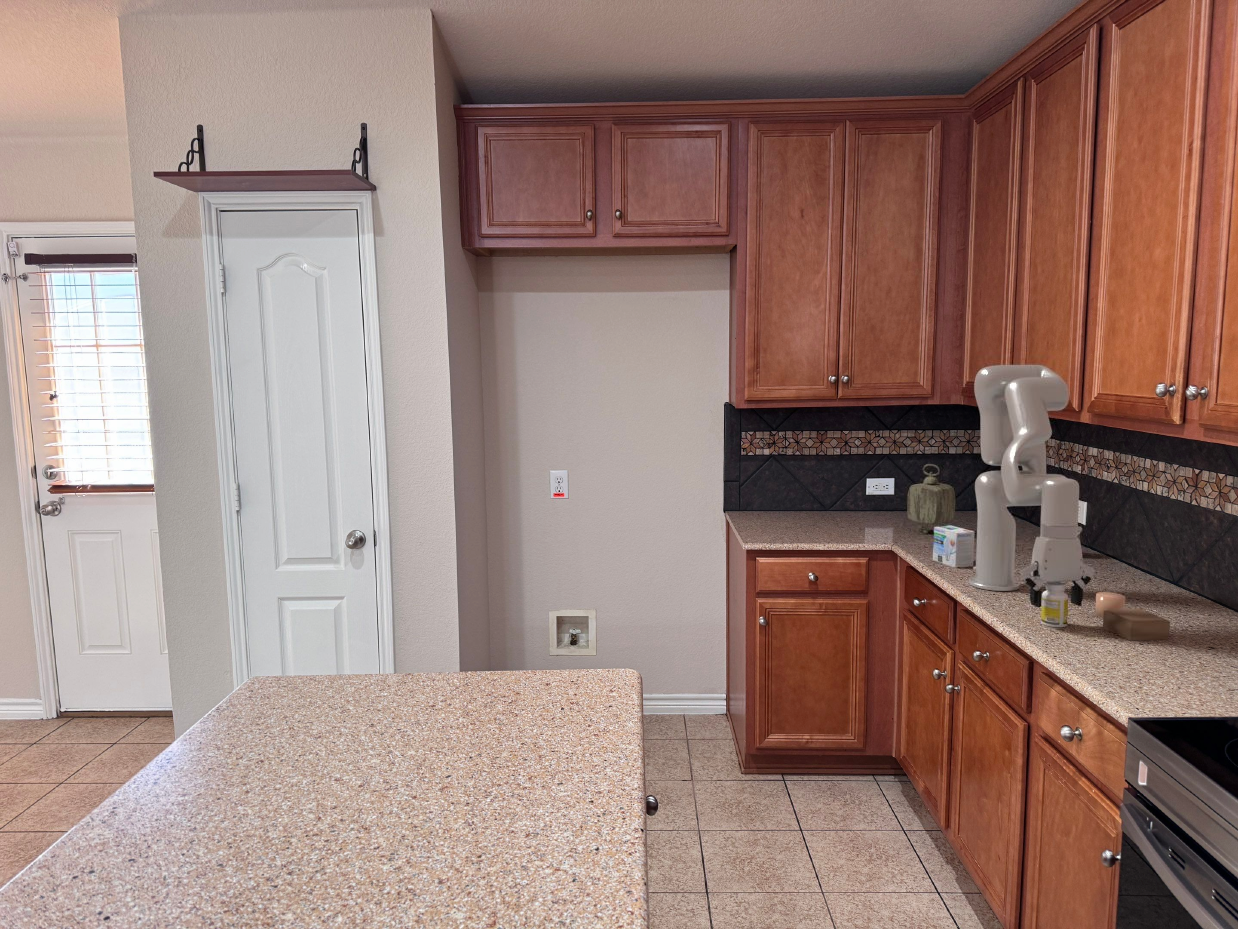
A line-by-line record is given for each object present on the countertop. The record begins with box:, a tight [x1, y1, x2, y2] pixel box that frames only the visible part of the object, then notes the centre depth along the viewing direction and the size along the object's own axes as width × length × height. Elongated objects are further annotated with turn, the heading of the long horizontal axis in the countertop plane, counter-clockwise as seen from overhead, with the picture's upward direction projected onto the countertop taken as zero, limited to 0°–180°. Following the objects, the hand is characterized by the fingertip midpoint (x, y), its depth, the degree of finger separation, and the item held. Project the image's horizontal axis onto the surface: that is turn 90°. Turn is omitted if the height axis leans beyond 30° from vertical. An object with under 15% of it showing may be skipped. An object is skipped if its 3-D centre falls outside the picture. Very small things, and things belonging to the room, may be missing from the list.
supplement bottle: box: [1040, 582, 1069, 628], centre depth 190 cm, size 5×5×10 cm
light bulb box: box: [932, 525, 976, 568], centre depth 250 cm, size 11×7×11 cm, turn 18°
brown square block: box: [1102, 608, 1171, 641], centre depth 184 cm, size 9×9×4 cm
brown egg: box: [1094, 591, 1126, 619], centre depth 197 cm, size 6×6×5 cm
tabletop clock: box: [906, 463, 956, 535], centre depth 295 cm, size 14×9×25 cm, turn 32°
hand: (1055, 605), depth 190 cm, fingers open, 9 cm apart
